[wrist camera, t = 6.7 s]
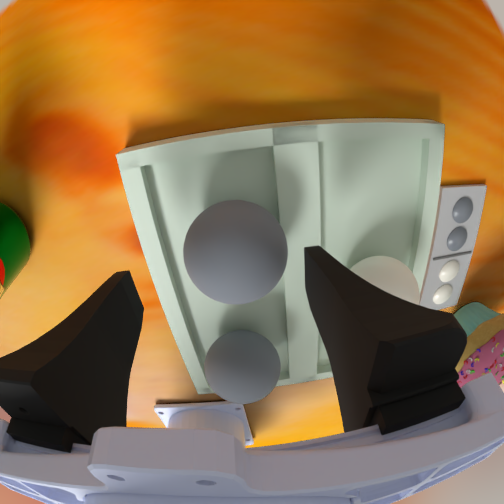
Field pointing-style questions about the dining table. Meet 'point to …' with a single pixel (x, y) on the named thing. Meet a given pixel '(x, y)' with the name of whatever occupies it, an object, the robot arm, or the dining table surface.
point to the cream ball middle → (389, 277)
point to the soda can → (12, 246)
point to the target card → (452, 244)
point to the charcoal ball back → (242, 366)
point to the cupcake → (481, 343)
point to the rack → (284, 218)
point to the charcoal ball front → (235, 252)
